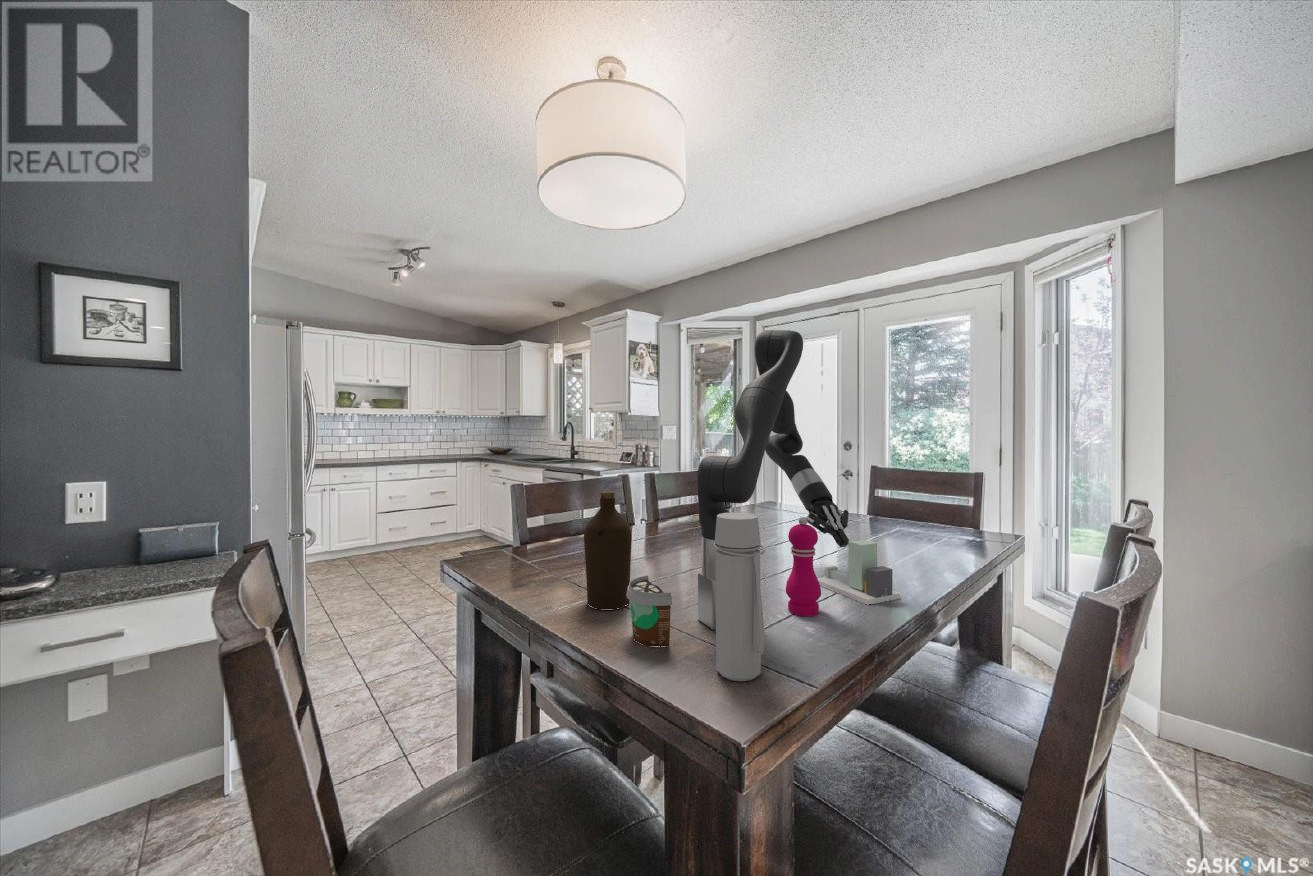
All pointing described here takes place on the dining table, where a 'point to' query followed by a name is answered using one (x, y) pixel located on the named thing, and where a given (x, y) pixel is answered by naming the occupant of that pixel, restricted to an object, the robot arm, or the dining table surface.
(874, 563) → the sleeve
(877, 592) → the rail base
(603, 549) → the olive oil
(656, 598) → the food container
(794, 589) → the pepper mill
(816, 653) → the dining table surface
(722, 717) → the dining table surface
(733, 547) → the water bottle
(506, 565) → the dining table surface
